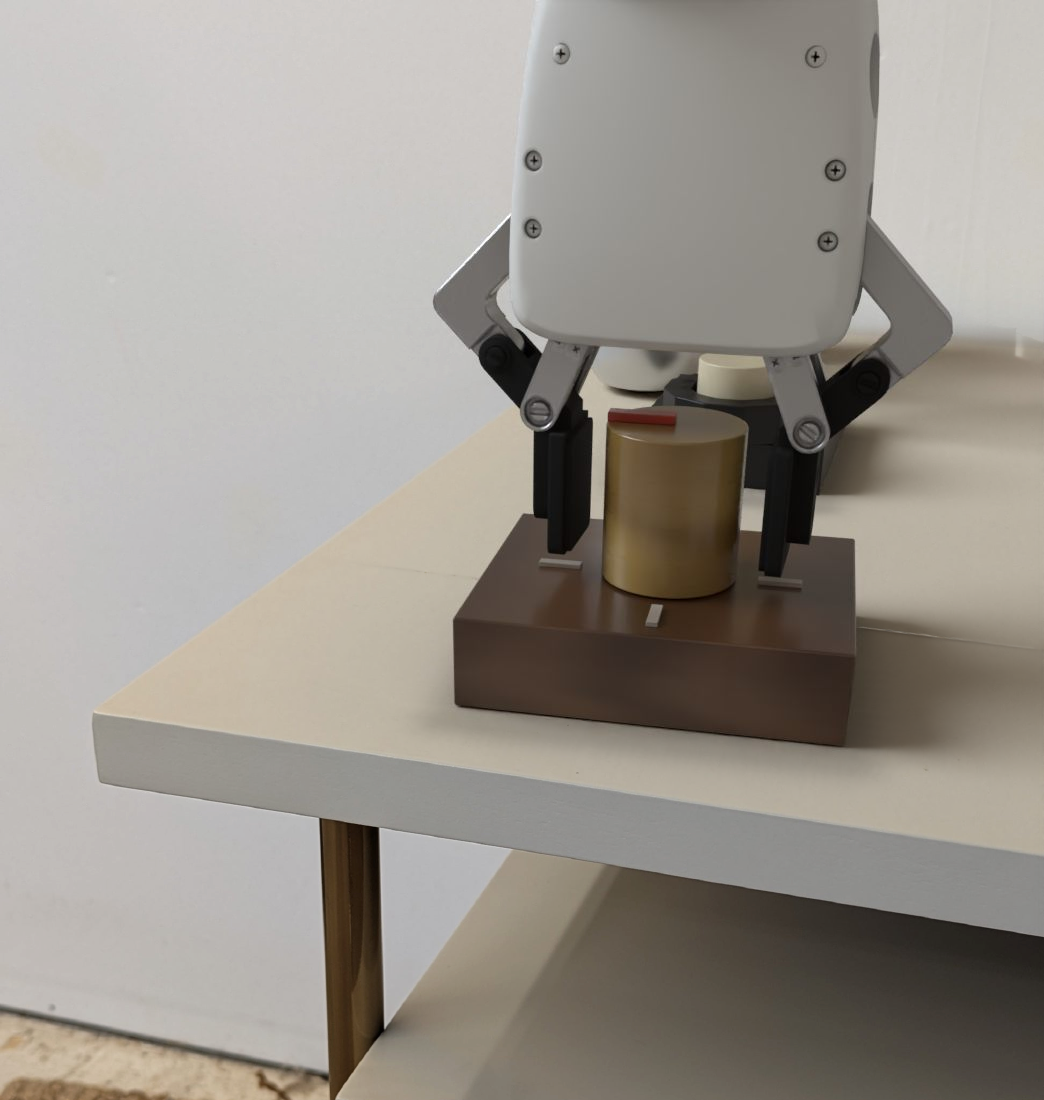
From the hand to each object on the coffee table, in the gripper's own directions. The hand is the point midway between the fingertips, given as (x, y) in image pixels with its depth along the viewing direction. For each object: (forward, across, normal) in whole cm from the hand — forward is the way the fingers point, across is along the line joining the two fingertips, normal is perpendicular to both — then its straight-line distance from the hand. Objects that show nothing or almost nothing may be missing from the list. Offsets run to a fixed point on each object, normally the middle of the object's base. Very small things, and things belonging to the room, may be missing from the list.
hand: (670, 546), depth 43 cm
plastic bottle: (+4, +8, -36) cm, 37 cm away
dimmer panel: (+4, 0, 0) cm, 4 cm away
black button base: (+4, +1, -25) cm, 25 cm away
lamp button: (0, +1, -22) cm, 22 cm away
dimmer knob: (+1, 0, 0) cm, 1 cm away
